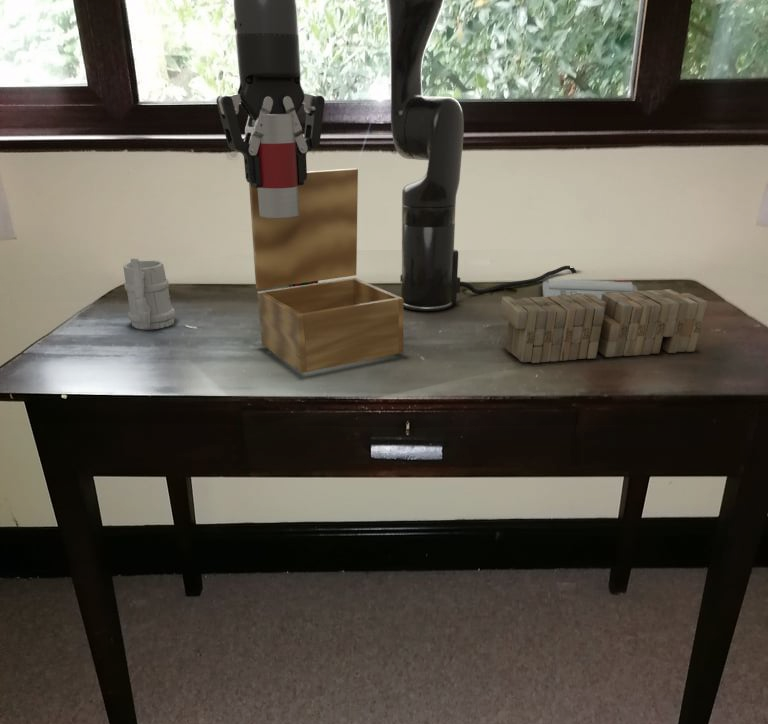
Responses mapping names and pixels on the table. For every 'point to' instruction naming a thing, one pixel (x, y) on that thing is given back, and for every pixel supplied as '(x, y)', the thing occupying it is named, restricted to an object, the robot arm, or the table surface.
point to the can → (278, 168)
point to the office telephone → (585, 287)
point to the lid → (309, 233)
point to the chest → (331, 323)
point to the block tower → (602, 324)
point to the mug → (148, 295)
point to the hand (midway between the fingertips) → (277, 185)
